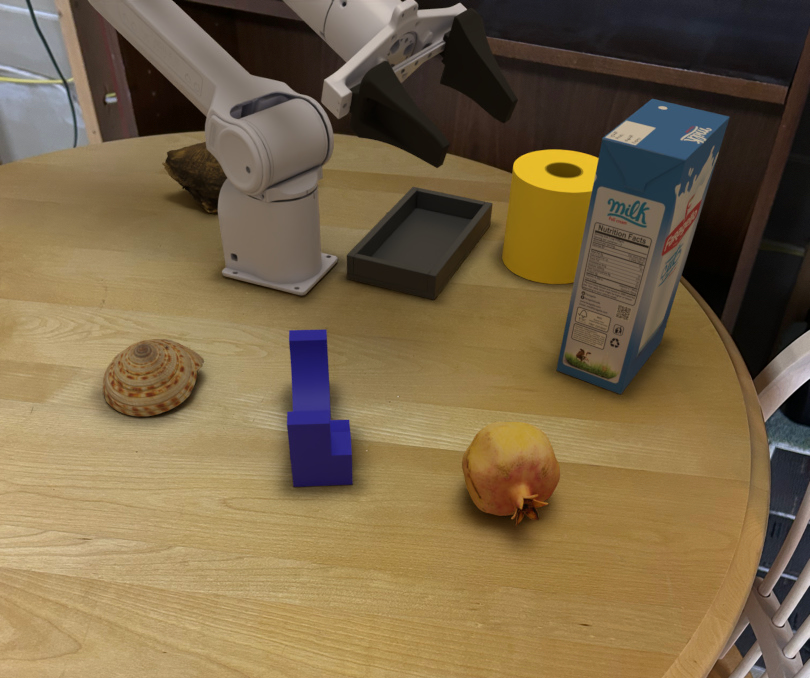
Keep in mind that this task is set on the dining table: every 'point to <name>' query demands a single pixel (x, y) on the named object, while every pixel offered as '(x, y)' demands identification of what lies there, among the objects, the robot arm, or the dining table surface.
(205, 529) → the dining table surface
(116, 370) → the seashell
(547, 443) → the fruit
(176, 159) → the seashell
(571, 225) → the yellow toilet paper roll
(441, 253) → the holder
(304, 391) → the blue piece
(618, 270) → the milk carton
